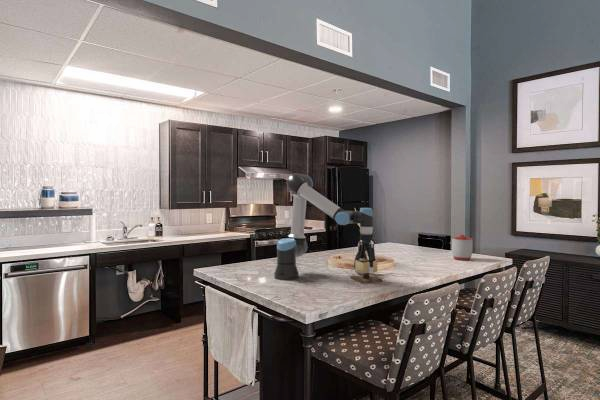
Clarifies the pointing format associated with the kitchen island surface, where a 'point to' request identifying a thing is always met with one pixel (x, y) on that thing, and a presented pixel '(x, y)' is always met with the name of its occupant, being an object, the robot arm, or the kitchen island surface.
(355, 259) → the black tall oval piece
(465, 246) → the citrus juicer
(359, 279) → the post stand
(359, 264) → the brass collar
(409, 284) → the kitchen island surface
